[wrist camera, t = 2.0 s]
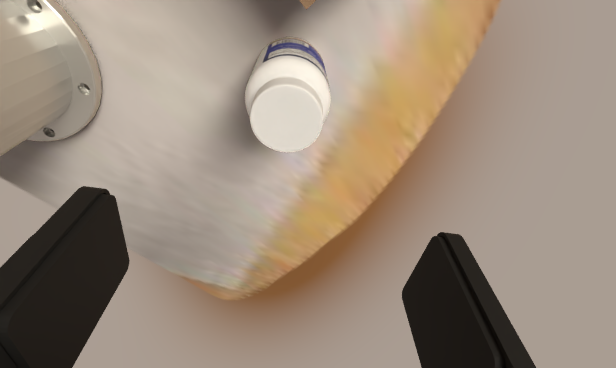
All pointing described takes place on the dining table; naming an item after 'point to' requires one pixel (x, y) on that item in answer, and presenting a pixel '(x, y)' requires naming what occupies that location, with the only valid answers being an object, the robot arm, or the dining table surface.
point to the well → (307, 3)
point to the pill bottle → (288, 95)
